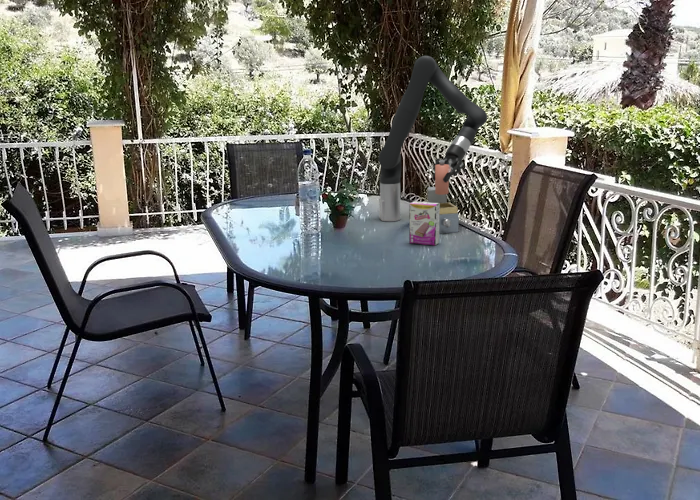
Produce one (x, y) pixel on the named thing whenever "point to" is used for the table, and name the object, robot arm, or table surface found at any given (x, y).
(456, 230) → the grey tan open box
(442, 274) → the table surface
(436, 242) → the candy bar box
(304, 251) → the table surface
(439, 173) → the oil can
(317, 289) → the table surface
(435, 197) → the skincare box
